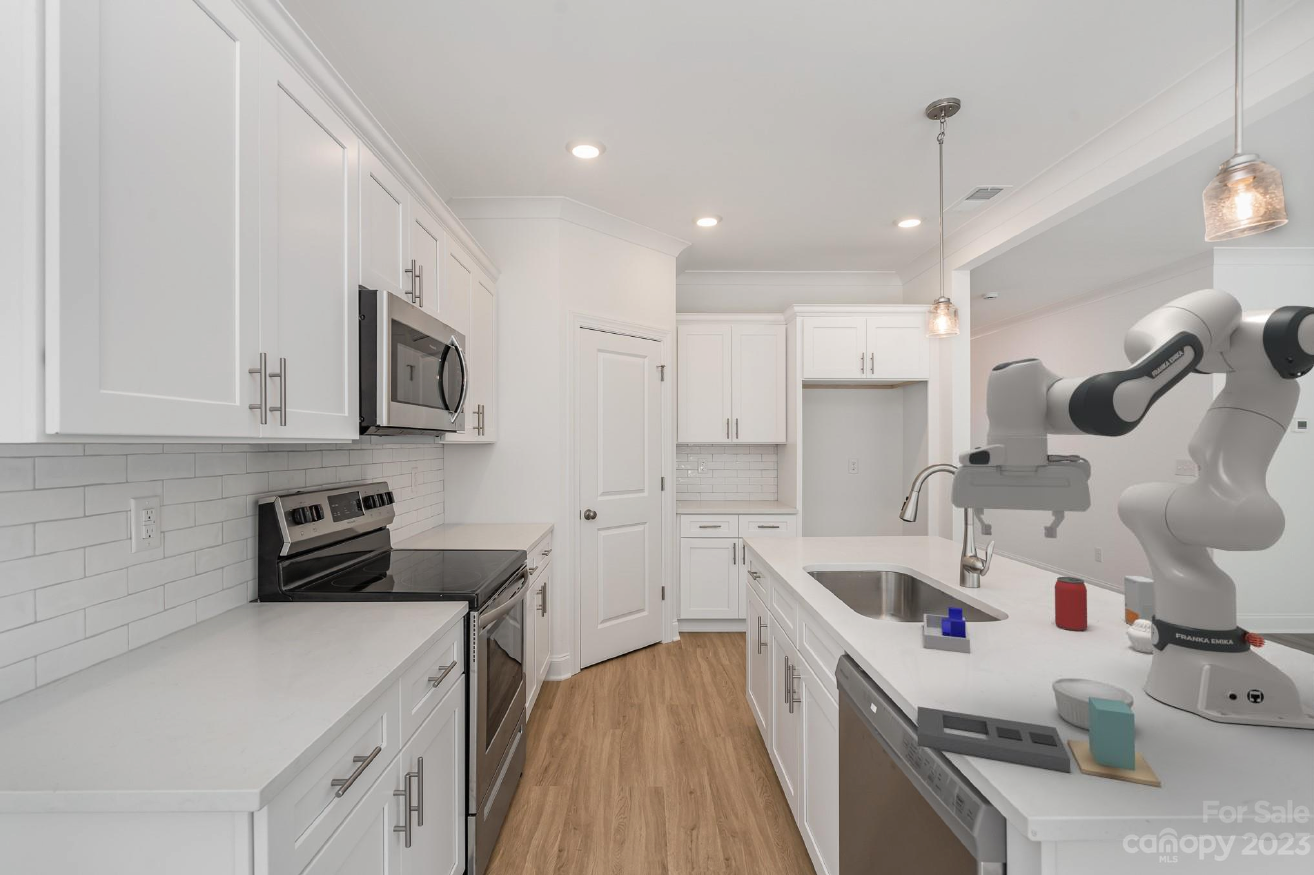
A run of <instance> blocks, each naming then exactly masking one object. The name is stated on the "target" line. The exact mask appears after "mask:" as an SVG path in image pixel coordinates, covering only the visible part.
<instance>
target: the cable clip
mask: <svg viewBox="0 0 1314 875" xmlns="http://www.w3.org/2000/svg"><path fill="white" fill-rule="evenodd" d="M947 608H948V611H947V614H948V615H947V616H948V619H943V618H942V628H941V636H949V637H958V638H966V626H967V623H966V619H965V620H963V618H964V617H963V608H962V607H954V606H953V607H951V606H947Z"/></svg>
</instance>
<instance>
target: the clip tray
mask: <svg viewBox="0 0 1314 875" xmlns="http://www.w3.org/2000/svg"><path fill="white" fill-rule="evenodd" d="M942 618H943V619H948V615H940V614H928V613H923V637H924V638H923V642H924V643H923V645H924V647H923V648H925V649H931V650H932V649H933V650H939V651H940V650H941V651H948V652H957V653H966V654H967V653H968V654H970V653H971V639H970V636H969V635H970V634H969V631H968V628H967V627H968V626H967V625H966V638H958V637H949V636H943V635H938V634H929V633H928V628H937V629H942ZM963 620H965V621H966V619H965V617H963Z"/></svg>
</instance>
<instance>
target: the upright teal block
mask: <svg viewBox="0 0 1314 875" xmlns="http://www.w3.org/2000/svg"><path fill="white" fill-rule="evenodd" d="M1135 730H1136V729H1135V713H1134V712H1133V710H1132V708H1131V709H1130V708H1129V707H1128V706H1127V704H1126V703H1125V702H1124V701H1117V700H1110V699H1102V698H1094V697H1089V730H1088V736H1089V737H1088V739H1089V740H1088V743H1089V750H1090V752H1091V753H1092V755H1093V757H1094V759H1095V761H1096V762H1097V764H1099V765H1105V766H1111V767H1117V768H1123V769H1129V770H1135V750H1136V745H1135V744H1136V743H1135V742H1136V736H1135V734H1136V733H1135Z"/></svg>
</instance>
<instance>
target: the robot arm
mask: <svg viewBox="0 0 1314 875" xmlns="http://www.w3.org/2000/svg"><path fill="white" fill-rule="evenodd" d="M1123 340H1124V341H1123V349H1124V353H1125V356H1126V358H1127V360H1128V361H1129V362H1130V364H1131V365H1130V366H1128V368H1126V369H1123V370H1114V371H1110V372H1109V371H1108V372H1102V373H1098V374H1092V375H1085V376H1077V377H1068V378H1067V377H1065V376H1062V375H1060V374H1057V373H1055V372H1053V371H1051V370H1050V369H1048V368H1047V367H1046V366H1044V364H1043V363H1042V360H1041V359H1039V358H1036V357H1035V358H1031V357H1029V358H1025V359H1019V360H1015V361H1008V362H1004V363H1000V364H997V365H996V366H994V367H993V368H992V369H991V371H990V373H989V376H988V378H987V379H988V380H987V386H986V415H987V419H988V421H989V424H988V427H989V428H988V431H987V434H986V445H984V446H977V447H974V448H973V449H970V450H966V451H963V452H961V453H960V454H959V456H958V462H959V463H960V466H958V468H957V469H956V470H955V471H954V475H953V479H952V483H951V484H952V485H951V496H950V498H951V500H950V501H951V504H952V505H953V506H954V507H955V508H957V509H973V514H974V516H975V517H976V519H977V521H978V522H979V524H980V532H981V535H982V536H992V524H991V523H986V522H985V521H984V519H983V518H982V516H984V515H985V514H984V511H985V510H988V509H989V510H1011V511H1012V510H1014V511H1016V510H1017V511H1018V510H1019V511H1042V512H1043V511H1045V512H1047V511H1049V512H1051V516H1052V517H1054V519H1053V521H1052V522H1051V524H1050V526H1049V525H1046V526H1043V527H1044V538H1046V539H1057V536H1058V534H1057V533H1058V532H1057V529H1058V528H1059V526H1060V525H1061V524H1062V522H1063V521H1064V520H1065V515H1066V514H1065V512H1077V513H1079V512H1081V513H1082V512H1083V513H1084V512H1087V511H1088V509H1090V508H1091V505H1092V504H1091V493H1090V492H1091V491H1090V488H1089V483H1088V481H1089V480H1090V478H1091V477H1092V476H1091V475H1092V474H1091V472H1092V470H1091V469H1092V467H1091V466H1092V465H1091V464H1090V461H1088V460H1087V459H1086V458H1084V457H1081V456H1080V455H1077V454H1070V455H1064V454H1048V450H1049V449H1048V435H1054V436H1055V435H1058V436H1059V435H1065V436H1066V435H1067V436H1080V435H1081V436H1084V435H1087V436H1100V437H1110V438H1114V437H1115V438H1117V437H1121V436H1125V435H1128V434H1129V433H1130V432H1132V431H1134V430H1135V429H1136V428H1137V427H1138V426H1139V425H1140V424H1141V423H1142V421H1143V420H1144V418H1145V417H1146V416H1147V414H1148V412H1149V411H1150V410H1151V408H1152V407H1153V406H1154V404H1156V402H1157V401H1158V400H1160V399H1161V398H1162V397H1163V396H1164V395H1165V394H1166V393H1168V392H1169V391H1170V390H1171V389H1172V388H1174V387H1175V386H1176V385H1177V384H1179V383H1180V382H1181V381H1182V380H1183V379H1185V378H1186V377H1187V376H1188V375H1190V374H1198V375H1212V374H1225V383H1224V384H1225V385H1224V386H1223V388H1222V389H1221V390H1220V392H1219V393H1218V394H1217V396H1216V397H1215V398H1214V400H1213V402H1212V403H1211V405H1210V406H1209V407H1208V409H1207V410H1206V413H1205V414H1204V416H1203V418H1202V420H1201V422H1200V423H1199V425H1198V426H1197V429H1196V431H1195V432H1194V434H1193V435H1192V437H1191V439H1190V441H1189V443H1188V445H1187V451H1188V454H1189V456H1190V458H1191V460H1192V461H1193V462H1194V463H1195V464H1196V465H1197V466H1199V468H1200V472H1199V475H1198V477H1197V479H1196V480H1195V481H1193V482H1191V483H1186V482H1185V483H1184V482H1174V481H1173V482H1172V481H1158V480H1157V481H1151V482H1150V481H1149V482H1143V483H1137V484H1133V485H1131V486H1129V487H1127V488H1126V489H1125V490H1124V491H1123V492H1122V493H1121V495H1120V497H1119V499H1118V502H1117V513H1118V516H1119V519H1120V521H1121V522H1122V524H1123V525H1124V526H1125V527H1126V528H1128V530H1130V531H1131V532H1132V533H1133V534H1134V536H1135V538H1137V540H1138V542H1139V543H1140V545H1141V547H1142V548H1143V551H1144V553H1145V556H1146V558H1147V561H1148V563H1149V566H1150V569H1151V574H1152V575H1151V576H1152V580H1153V583H1154V602H1155V614H1154V615H1152V624H1151V640H1152V645H1153V646H1154V650H1153V653H1152V659H1151V664H1150V670H1149V673H1148V677H1147V680H1146V683H1145V685H1144V688H1143V689H1144V691H1145V692H1146V693H1147V694H1148V695H1149V696H1151V697H1152V698H1154V699H1156V700H1157V701H1159V702H1162V703H1164V704H1167V705H1170V706H1172V707H1176V708H1178V709H1181V710H1184V711H1188V712H1191V713H1194V714H1196V715H1198V716H1201V717H1203V718H1206V719H1209V720H1211V721H1215V722H1219V723H1227V724H1228V723H1231V724H1243V725H1245V724H1246V725H1258V726H1271V727H1282V728H1283V727H1284V728H1298V729H1299V728H1300V729H1311V730H1314V710H1313V709H1312V708H1310V707H1309V706H1307V705H1305V703H1303V702H1302V701H1301V700H1302V699H1301V696H1300V694H1299V690H1298V687H1297V685H1296V683H1294V681H1293V680H1292V678H1291V677H1290V676H1288V674H1286V673H1285V672H1284V671H1283V670H1281V669H1279V668H1278V667H1277V666H1275V665H1274V664H1273V663H1271V662H1270V661H1268V659H1265V658H1264V657H1263V656H1261V655H1260V654H1258V653H1257V652H1256V651H1255V650H1252V649H1251V646H1253V647H1254V648H1257V649H1258V648H1263V647H1264V646H1265V645H1266V640H1265V639H1264V638H1263V636H1261V635H1259V634H1257V633H1255V632H1250V631H1248V630H1246V629H1244V628H1242V627H1241V626H1238V625H1237V624H1238V623H1237V622H1238V621H1237V587H1236V586H1237V585H1236V584H1235V581H1234V580H1233V579H1232V577H1231V576H1230V575H1229V574H1228V573H1226V572H1225V571H1224V570H1223V569H1221V568H1220V567H1219V566H1218V565H1217V563H1215V561H1214V559H1212V557H1211V555H1210V553H1209V551H1208V549H1214V550H1220V551H1226V552H1257V551H1259V552H1260V551H1261V552H1262V551H1265V550H1268V549H1270V548H1272V547H1273V546H1274V545H1276V544H1277V543H1278V541H1280V539H1281V538H1282V535H1283V534H1284V532H1285V527H1286V517H1285V514H1284V511H1283V508H1282V507H1281V505H1280V504H1279V503H1278V501H1277V500H1276V499H1274V498H1273V497H1272V496H1271V495H1270V493H1269V491H1268V488H1267V485H1266V484H1267V483H1266V478H1267V471H1268V469H1269V466H1270V464H1271V462H1272V460H1273V457H1274V455H1275V453H1276V451H1277V449H1278V447H1279V446H1280V444H1281V442H1282V440H1283V439H1284V436H1285V434H1286V433H1287V431H1288V429H1289V426H1290V425H1291V422H1292V421H1293V418H1294V415H1295V413H1296V410H1297V405H1298V402H1299V398H1300V394H1301V387H1300V384H1299V381H1298V380H1297V379H1298V378H1300V377H1303V376H1305V375H1307V374H1308V373H1309V372H1310V371H1312V370H1313V368H1314V306H1313V307H1312V306H1308V305H1307V306H1305V305H1284V306H1281V307H1277V308H1276V307H1275V308H1272V307H1271V308H1261V309H1250V310H1243V309H1242V305H1241V304H1240V302H1239V300H1238V298H1236V297H1235V296H1234V295H1233V294H1231V293H1229V292H1227V291H1224V290H1222V289H1218V288H1217V289H1216V288H1206V289H1205V288H1204V289H1199V290H1196V291H1192V292H1190V293H1187V294H1185V295H1183V296H1180V297H1178V298H1175V299H1173V300H1171V301H1169V302H1167V303H1165V304H1163V305H1161V306H1160V307H1158V308H1157V309H1155V310H1153V311H1151V312H1150V313H1148V314H1147V315H1145V316H1144V317H1142V318H1141V319H1140V320H1138V321H1137V322H1135V324H1134V325H1132V327H1131V328H1129V329H1128V331H1127V332H1126V333H1125V336H1124V339H1123Z"/></svg>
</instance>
